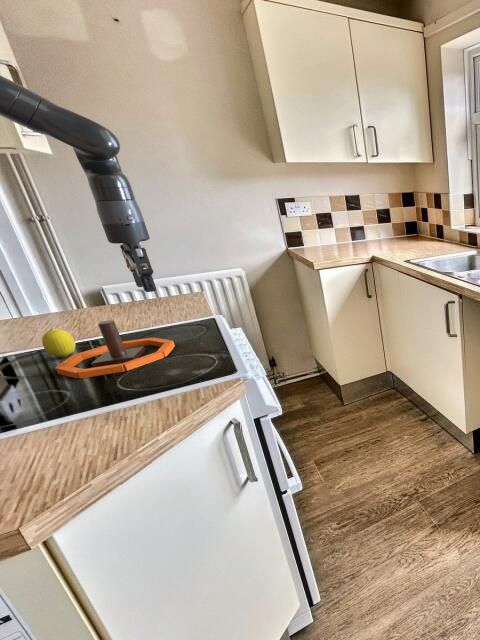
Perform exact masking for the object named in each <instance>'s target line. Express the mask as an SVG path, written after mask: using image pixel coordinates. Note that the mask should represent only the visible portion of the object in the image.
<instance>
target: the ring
mask: <svg viewBox="0 0 480 640" xmlns="http://www.w3.org/2000/svg"><path fill="white" fill-rule="evenodd" d="M122 342H123V345H124V347H125V349H129V348H136V347H143V346H144V347H147V346H153V347H159V348H158V349H157V350H156V351H155V352H152V353H148V354H146V355H143V356H140V357H139V358H137V359H134V360H131V361H128V362H125V363H121V364H115V365H108V366H101V367H94V368H93V367H89V368H81V367H76V366H77V365H79V364H80V363H81V362H82V361H84V360H88V359H91V358H95V357H97V356H98V357H99V356H101V355H102V354H103V353H105V352H108V348H107V346H106V344H105V345H102V346H101V345H100V346H98V347H95V348H91V349H88V350H85V351H81V352H78V353H75V354H72V355H71V356H68V357H67V358H66V359H64V361H62V362H60V363H59V364H58V365H56V366H55V367H54V368H55V370H56V372H57V374H58V375H62V376H66V377H70V378H74V379H85V378H92V377H98V376H104V375H110V374H111V375H112V374H117V373H123V372H125V371H127V372H128V371H131V370H134V369H136V368H139V367H142V366H145V365H148V364H150V363H154V362H156V361H159V360H161V359H164V358H166V357H168V355H169V354H170V353H171V352H172V351H173V349H174V348H175V347H176V345H175V342H174V340H171V339H167V338H166V339H165V338H161V337H146V338H139V339H131V340H122Z"/></svg>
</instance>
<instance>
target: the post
mask: <svg viewBox="0 0 480 640" xmlns="http://www.w3.org/2000/svg"><path fill="white" fill-rule="evenodd" d="M97 326H98V328H99V331H100V333H101V335H102V338H103V340H104V343H105V345H106V346H107V348H108V352H105V353H103V354H101V355H99V356H98V357H97V358H96V359H95V360H93V361H92V362H91V363H90V364H91V366H92V367H91V368H94V367H101V366H108V365H115V364H121V363H125V362H128V361H131V360H134V359H137V358H140V357H142V355H143V354H144V353H145V352H146V346H139V347H132V348H125V347H124V345H123V340H122V337H121V334H120V332H119V329H118V328H117V325H116V321H115V320H114V319H110V320H103V321H100V322H98V323H97Z"/></svg>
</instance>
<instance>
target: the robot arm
mask: <svg viewBox="0 0 480 640" xmlns="http://www.w3.org/2000/svg"><path fill="white" fill-rule="evenodd" d="M0 117H2V118H4V119H7V120H8V121H11V122H13V123H15V124H17V125H19V126H22V127H23V128H26V129H28V130H30V131H33V132H35V133H38V134H41V135H44V136H49V137H51V138H54V139H55V140H57V141H59V142H62V143H63V144H66V145H68V146H69V147H72V150H73V152H74V154H75V156H76V159H77V161H78V163H79V165H80V167H81V168H82V171H83V172H84V174H85V177H86V179H87V182H88V186H89V188H90V191H91V195H92V197H93V200H94V202H95V207H96V212H97V215H98V217H99V221H100V223H101V225H102V228H103V232H104V234H105V236H106V238H107V241H108V243H109V244H116V245H117V244H120V245H119V248H120V249H121V255H122V257H123V259H124V263H125V264H126V268H127V269H128V270H129V272H131V274H132V277H133V279H134V283H135V285H136V287H138V288H143V291H144V293H145V292H146V293H151V292H156V291H157V286H156V284H155V281H154V278H153V274H154V269H153V267H152V264H151V262H150V259H149V255H148V253H147V249H146V248H145V247H142V246H141V244H140V243H142V242H147V241H149V240H150V235H149V232H148V229H147V225H146V222H145V218H144V216H143V213H142V210H141V208H140V206H139V204H138V201H137V199H136V196H135V194H134V190H133V187H132V185H131V182H130V180H129V179H128V176H126V174H125V173H124V171H123V170H122V167H121V165H120V161H119V159H118V155H119V153H120V150H121V143H120V141H119V138H118V137H117V136H116V135H115V134H114V133H113V132H112V131H111V130H110V129H108V127H105V126H104V125H102V124H100V123H98V122H96V121H94V120H92V119H90V118H89V117H85V116H84V115H81V114H78V113H77V112H74V111H72V110H70V109H67V108H64V107H62V106H60V105H58V104H56V103H54V102H53V101H51V100H49V99H47V98H45V97H44V96H42V95H39V94H38V93H36V92H34V91H32V90H31V89H28V88H26V87H25V86H23V85H21V84H19V83H17V82H15V81H13V80H11V79H9V78H7V77H5V76H3V75H1V74H0Z"/></svg>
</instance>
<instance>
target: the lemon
mask: <svg viewBox="0 0 480 640" xmlns="http://www.w3.org/2000/svg"><path fill="white" fill-rule="evenodd" d="M41 343H42V347H43V349H44V350H45V352H46V353H47V354H49V355H51V356H53V357H57V358H58V357H60V358H63V359H65V358H69V356H70V355H71V354H72V353H74V351H75V349H76V341H75V339H74V337H73V336H72V335H71V334H70V333H69V332H67V331H66V330H63V329H57V328H50V329H49V330H48V331H46V332H45V333H44V334H43V335H42V337H41Z"/></svg>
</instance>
